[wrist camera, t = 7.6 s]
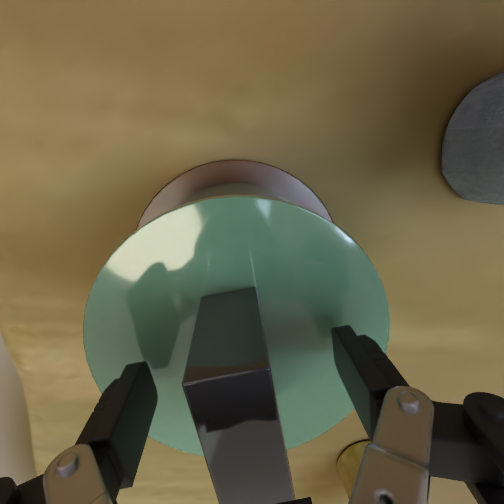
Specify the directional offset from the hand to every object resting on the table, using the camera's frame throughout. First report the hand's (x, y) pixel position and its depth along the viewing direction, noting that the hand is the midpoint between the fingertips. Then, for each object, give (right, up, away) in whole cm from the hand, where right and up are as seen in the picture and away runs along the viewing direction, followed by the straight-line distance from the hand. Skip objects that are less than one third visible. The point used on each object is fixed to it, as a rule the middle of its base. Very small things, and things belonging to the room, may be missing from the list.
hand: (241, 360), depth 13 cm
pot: (0, +1, +11) cm, 11 cm away
